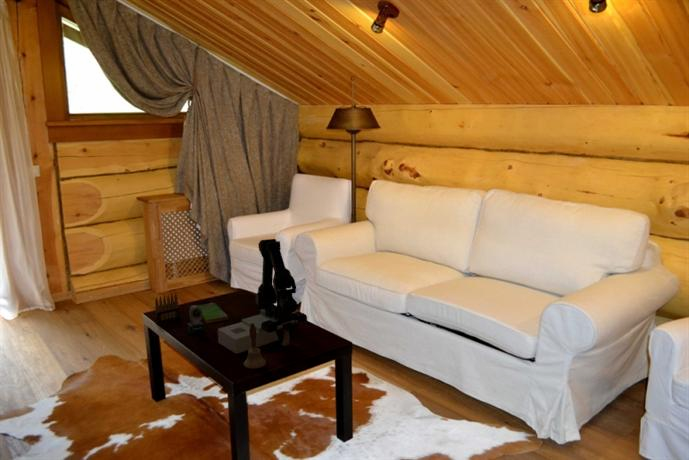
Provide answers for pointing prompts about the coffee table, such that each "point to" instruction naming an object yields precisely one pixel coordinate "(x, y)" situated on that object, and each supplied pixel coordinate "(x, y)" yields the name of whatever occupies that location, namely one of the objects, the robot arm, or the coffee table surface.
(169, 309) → the ammunition clip
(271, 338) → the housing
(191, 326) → the watch
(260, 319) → the lid
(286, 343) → the brown rounded cylinder
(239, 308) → the coffee table surface
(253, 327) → the hand bell
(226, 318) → the game box
